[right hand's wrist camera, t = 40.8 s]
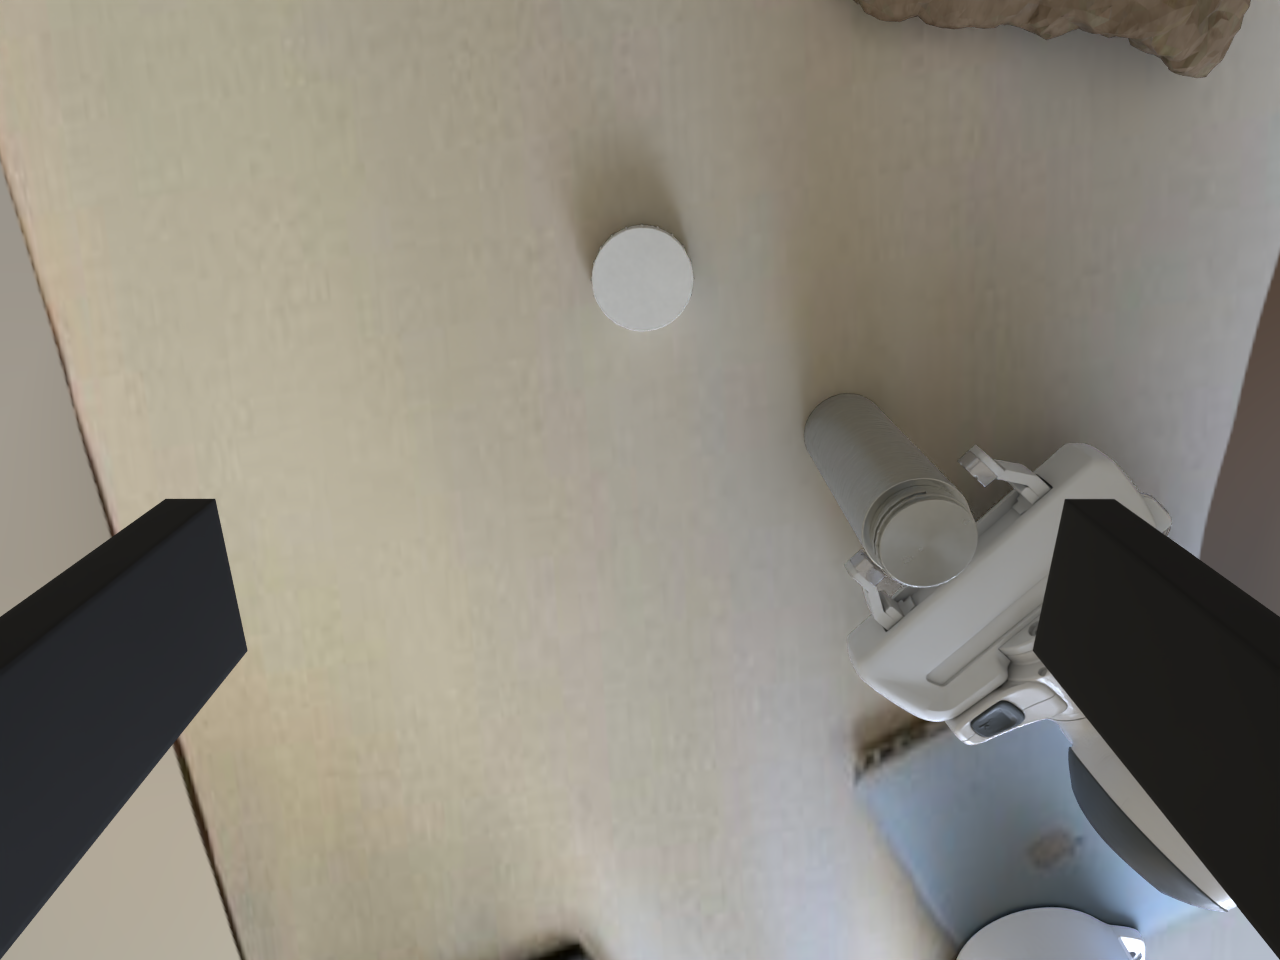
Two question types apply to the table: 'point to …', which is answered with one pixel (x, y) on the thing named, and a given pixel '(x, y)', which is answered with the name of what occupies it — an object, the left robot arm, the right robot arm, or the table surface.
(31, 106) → the table surface
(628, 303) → the lid
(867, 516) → the grey cylinder
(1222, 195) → the table surface
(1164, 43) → the stone
